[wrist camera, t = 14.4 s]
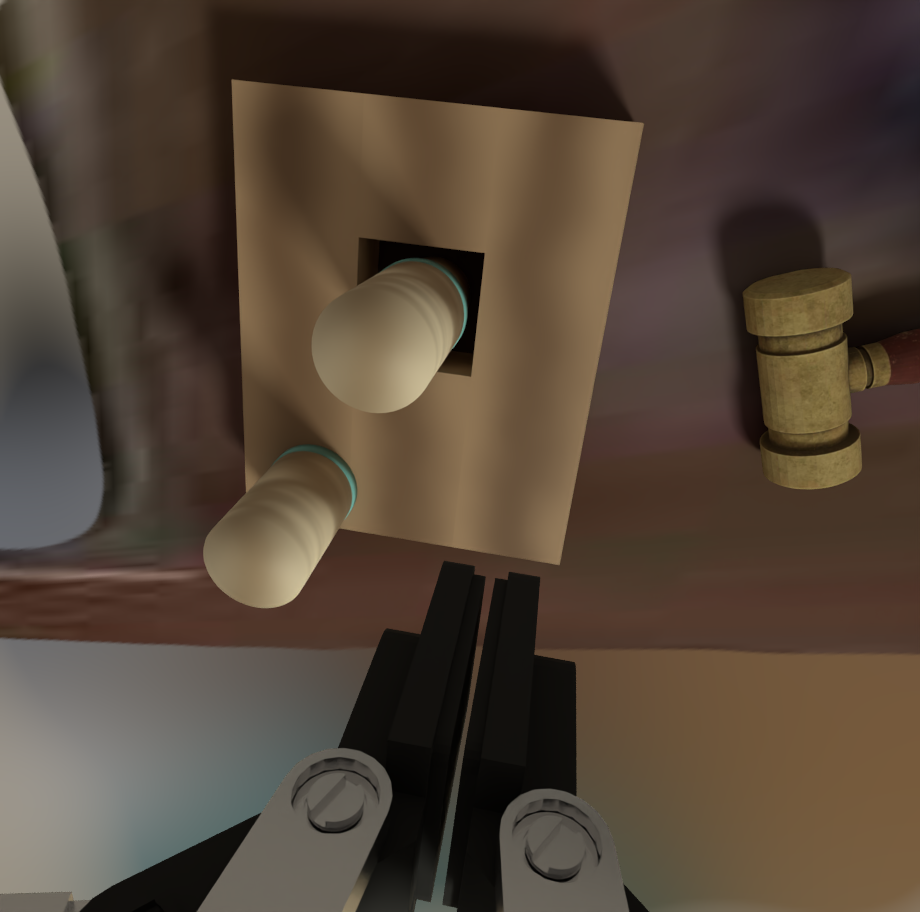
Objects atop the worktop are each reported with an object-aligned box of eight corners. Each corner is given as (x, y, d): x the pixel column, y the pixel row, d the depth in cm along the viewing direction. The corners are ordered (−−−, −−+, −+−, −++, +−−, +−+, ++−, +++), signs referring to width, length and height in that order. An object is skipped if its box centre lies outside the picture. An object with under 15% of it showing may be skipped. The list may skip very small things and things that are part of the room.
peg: (483, 252, 36) (441, 296, 25) (474, 345, 38) (431, 422, 27) (391, 242, 36) (310, 280, 25) (387, 333, 38) (310, 405, 27)
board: (635, 125, 32) (667, 115, 22) (560, 528, 42) (556, 662, 31) (267, 86, 34) (125, 58, 23) (274, 482, 43) (174, 594, 32)
